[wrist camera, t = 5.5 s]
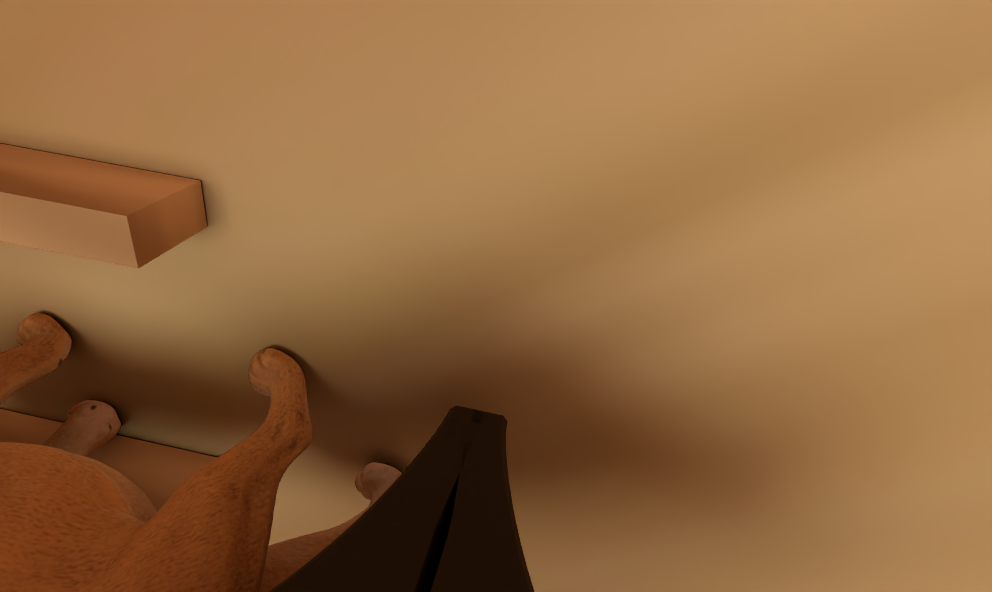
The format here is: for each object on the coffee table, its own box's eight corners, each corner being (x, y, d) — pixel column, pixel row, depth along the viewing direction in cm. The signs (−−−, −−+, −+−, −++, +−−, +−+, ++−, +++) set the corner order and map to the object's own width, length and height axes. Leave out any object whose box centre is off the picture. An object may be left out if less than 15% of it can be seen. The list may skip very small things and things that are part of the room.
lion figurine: (2, 452, 17) (-525, 862, 9) (-98, 297, 14) (-968, 683, 6) (483, 499, 14) (345, 1120, 6) (468, 323, 12) (211, 999, 4)
